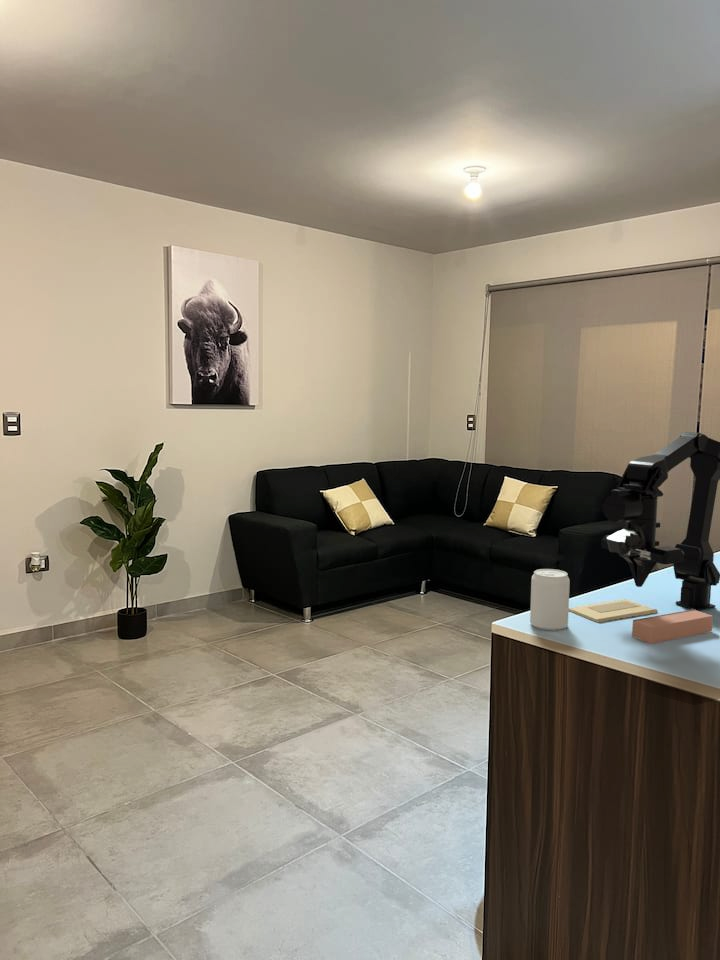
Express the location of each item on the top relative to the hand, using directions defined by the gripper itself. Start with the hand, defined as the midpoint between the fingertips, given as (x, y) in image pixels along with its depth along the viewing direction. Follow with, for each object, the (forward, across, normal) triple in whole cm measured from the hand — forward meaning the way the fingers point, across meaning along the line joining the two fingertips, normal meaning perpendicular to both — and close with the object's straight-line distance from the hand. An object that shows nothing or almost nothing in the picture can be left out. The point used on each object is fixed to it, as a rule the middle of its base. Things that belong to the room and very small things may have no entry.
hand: (638, 586), depth 164 cm
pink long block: (+8, +9, +1) cm, 12 cm away
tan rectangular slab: (+8, -8, +1) cm, 12 cm away
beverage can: (+8, -6, -20) cm, 22 cm away
